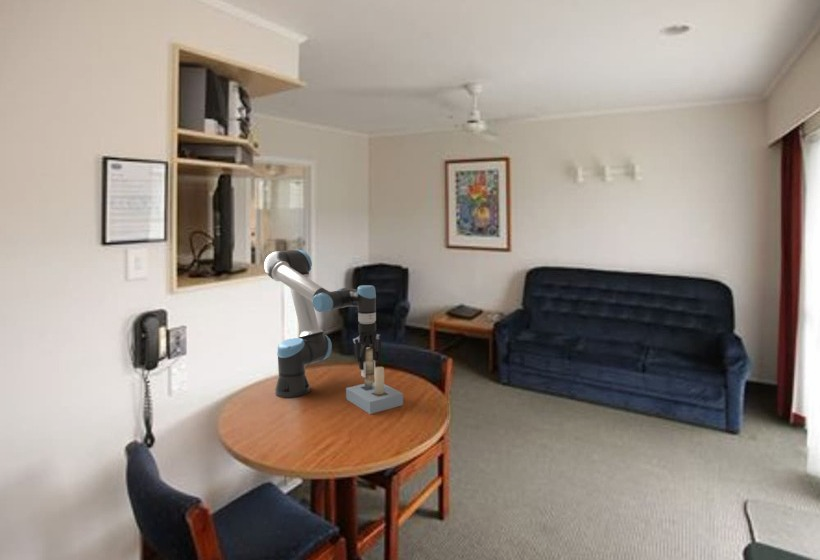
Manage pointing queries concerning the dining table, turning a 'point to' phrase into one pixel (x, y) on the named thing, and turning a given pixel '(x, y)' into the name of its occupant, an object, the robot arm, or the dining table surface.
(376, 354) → the robot arm
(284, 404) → the dining table surface
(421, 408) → the dining table surface
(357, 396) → the seat board
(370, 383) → the beech leg
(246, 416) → the dining table surface
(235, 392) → the dining table surface
